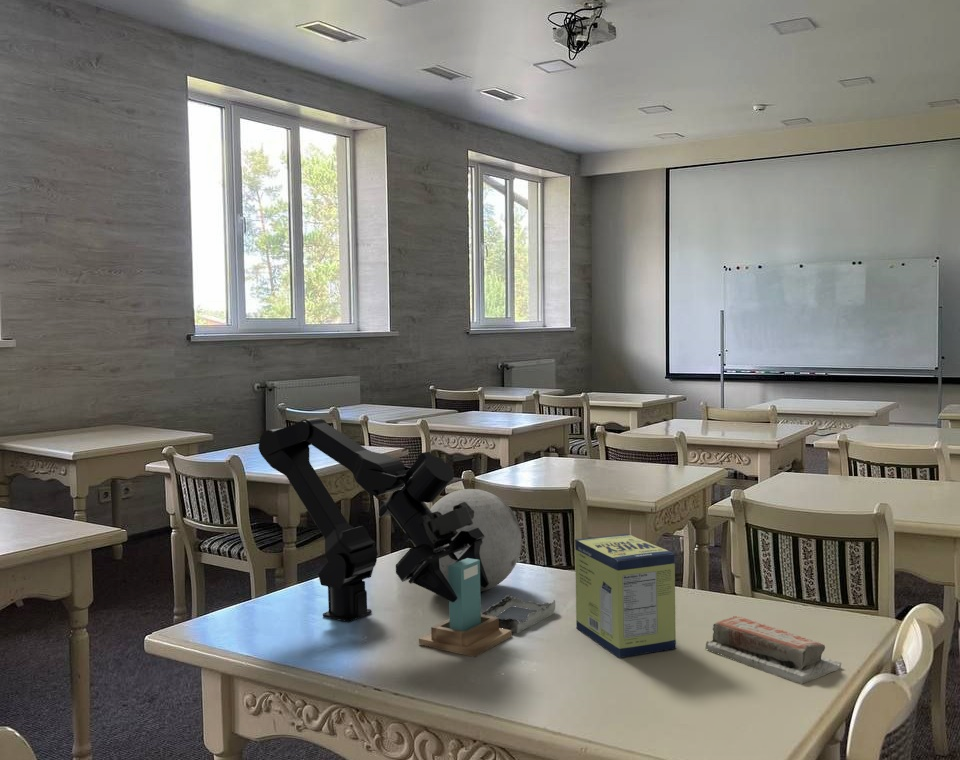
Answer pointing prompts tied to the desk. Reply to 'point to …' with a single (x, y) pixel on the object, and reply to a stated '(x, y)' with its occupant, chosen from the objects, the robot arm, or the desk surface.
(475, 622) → the teal labeled box
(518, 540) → the moon model
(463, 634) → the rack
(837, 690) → the desk surface
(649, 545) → the protein box
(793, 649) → the packaged product
